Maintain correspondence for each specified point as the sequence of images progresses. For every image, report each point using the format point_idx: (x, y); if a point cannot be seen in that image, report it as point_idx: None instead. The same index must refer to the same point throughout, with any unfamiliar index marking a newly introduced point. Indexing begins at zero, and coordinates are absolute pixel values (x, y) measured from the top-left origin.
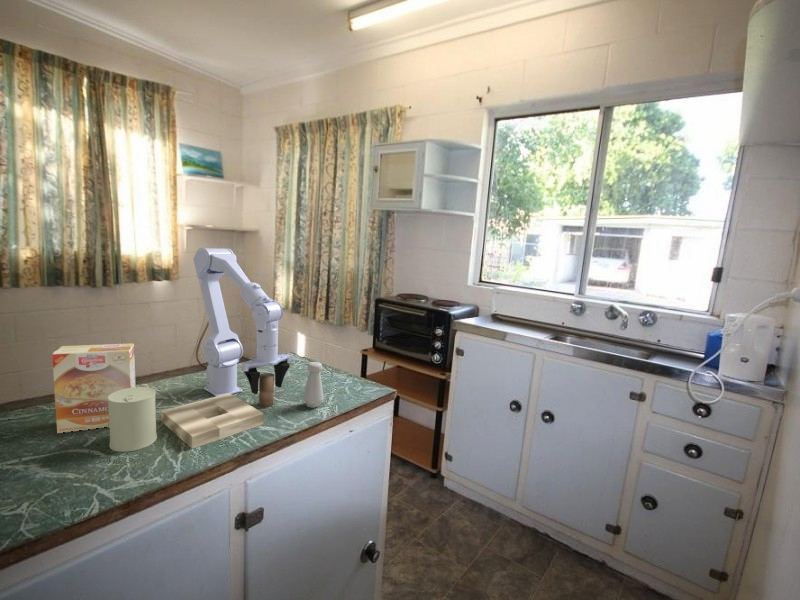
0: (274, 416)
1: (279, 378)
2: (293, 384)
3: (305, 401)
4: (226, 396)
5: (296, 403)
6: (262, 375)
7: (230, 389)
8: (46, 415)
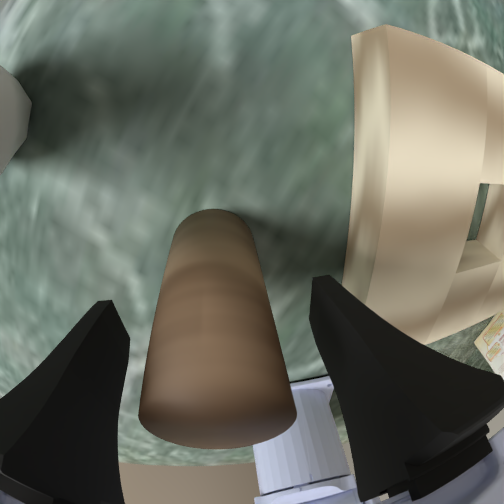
0: (250, 74)
1: (89, 364)
2: None
3: (20, 105)
4: None
5: (59, 180)
6: (257, 431)
7: None
8: None
